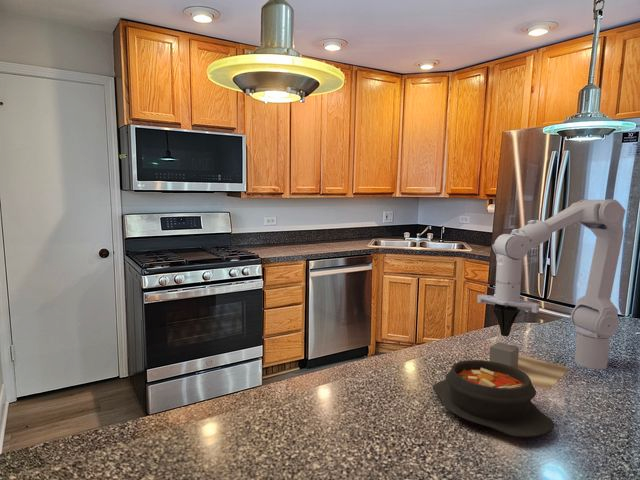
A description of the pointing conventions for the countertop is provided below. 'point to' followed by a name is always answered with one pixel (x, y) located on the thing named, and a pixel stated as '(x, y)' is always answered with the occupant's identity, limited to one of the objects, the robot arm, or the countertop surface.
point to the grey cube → (504, 354)
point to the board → (541, 371)
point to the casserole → (493, 398)
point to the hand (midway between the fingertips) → (505, 335)
